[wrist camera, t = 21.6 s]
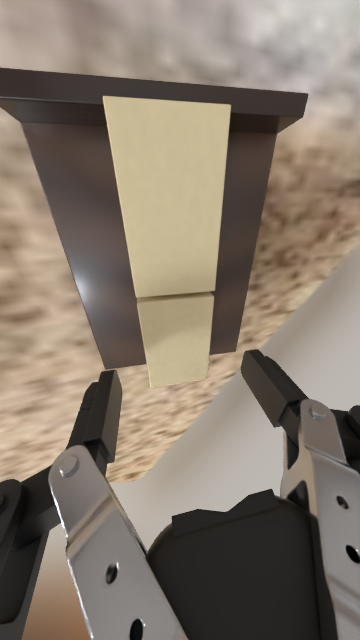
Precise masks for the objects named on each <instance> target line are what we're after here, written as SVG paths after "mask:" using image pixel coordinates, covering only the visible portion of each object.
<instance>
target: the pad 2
mask: <svg viewBox="0 0 360 640" xmlns="http://www.w3.org/2000/svg"><path fill="white" fill-rule="evenodd" d="M213 305H214V296H213V295H212V294H211V293H210V291H207V292H196V293H184V294H173V295H161V296H150V297H138V299H137V308H138V314H139V320H140V326H141V332H142V338H143V344H144V350H145V356H146V362H147V368H148V374H149V380H150V386H151V388H156V387H162V386H169V385H175V384H181V383H187V382H194V381H200V380H206V379H207V374H208V362H209V351H210V340H211V328H212V317H213Z"/></svg>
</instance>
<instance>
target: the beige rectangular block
mask: <svg viewBox="0 0 360 640" xmlns="http://www.w3.org/2000/svg"><path fill="white" fill-rule="evenodd" d="M103 103H104V109H105V115H106V121H107V127H108V133H109V139H110V145H111V151H112V157H113V163H114V169H115V175H116V181H117V187H118V193H119V199H120V205H121V211H122V217H123V223H124V229H125V235H126V241H127V247H128V253H129V259H130V265H131V271H132V277H133V283H134V289H135V295H136V298H138V297H150V296H161V295H173V294H184V293H196V292H207V291H215V283H216V272H217V260H218V249H219V238H220V226H221V215H222V203H223V192H224V181H225V169H226V158H227V146H228V135H229V124H230V112H231V105H229V104H214V103H200V102H186V101H171V100H157V99H143V98H128V97H114V96H103Z"/></svg>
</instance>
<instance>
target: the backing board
mask: <svg viewBox="0 0 360 640" xmlns="http://www.w3.org/2000/svg"><path fill="white" fill-rule="evenodd" d="M103 96H114V97H128V98H143V99H157V100H171V101H186V102H200V103H214V104H229V105H231V112H230V124H229V135H228V146H227V158H226V169H225V181H224V192H223V203H222V215H221V226H220V238H219V249H218V260H217V272H216V283H215V291H210V293H211V294H212V295H213V296H214V305H213V317H212V328H211V340H210V351H209V355H213V354H221V353H228V352H235V351H236V347H237V342H238V336H239V331H240V326H241V320H242V315H243V310H244V305H245V299H246V294H247V289H248V284H249V278H250V273H251V268H252V263H253V257H254V252H255V247H256V241H257V236H258V231H259V226H260V220H261V215H262V210H263V205H264V199H265V194H266V189H267V183H268V178H269V173H270V168H271V162H272V157H273V152H274V147H275V141H276V136H277V133H279V132H281V131H282V130H284V129H285V128H287V127H288V126H290V125H291V124H293V123H294V122H296V121H298V120H299V119H301V118H302V117H303V115H304V111H305V107H306V103H307V98H308V94H307V93H295V92H283V91H271V90H260V89H248V88H236V87H224V86H212V85H200V84H188V83H176V82H164V81H152V80H140V79H128V78H116V77H104V76H93V75H81V74H69V73H57V72H45V71H33V70H21V69H9V68H0V107H1V108H2V109H4V110H5V111H6V112H7V113H9V114H10V115H11V116H13V117H14V118H15V119H17V120H18V121H20V124H21V127H22V130H23V133H24V135H25V138H26V141H27V144H28V147H29V150H30V153H31V156H32V159H33V161H34V164H35V167H36V170H37V173H38V176H39V179H40V182H41V185H42V187H43V190H44V193H45V196H46V199H47V202H48V205H49V208H50V211H51V213H52V216H53V219H54V222H55V225H56V228H57V231H58V234H59V237H60V240H61V242H62V245H63V248H64V251H65V254H66V257H67V260H68V263H69V266H70V268H71V271H72V274H73V277H74V280H75V283H76V286H77V289H78V292H79V294H80V297H81V300H82V303H83V306H84V309H85V312H86V315H87V318H88V320H89V323H90V326H91V329H92V332H93V335H94V338H95V341H96V344H97V346H98V349H99V352H100V355H101V358H102V361H103V364H104V367H105V369H113V368H121V367H128V366H135V365H142V364H147V362H146V356H145V350H144V344H143V338H142V332H141V326H140V320H139V314H138V308H137V299H138V298H136V295H135V289H134V283H133V277H132V271H131V265H130V259H129V253H128V247H127V241H126V235H125V229H124V223H123V217H122V211H121V205H120V199H119V193H118V187H117V181H116V175H115V169H114V163H113V157H112V151H111V145H110V139H109V133H108V127H107V121H106V115H105V109H104V103H103Z"/></svg>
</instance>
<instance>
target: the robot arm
mask: <svg viewBox="0 0 360 640" xmlns="http://www.w3.org/2000/svg"><path fill="white" fill-rule="evenodd" d="M241 373H242V376H243V378H244V379H245V381H246V383H247V384H248V386H249V388H250V389H251V391H252V392H253V394H254V396H255V397H256V399H257V400H258V402H259V404H260V405H261V407H262V409H263V410H264V412H265V414H266V415H267V417H268V418H269V420H270V422H271V423H272V425H273V427H280V426H282V427H283V429H284V430H285V431H284V472H283V478H282V481H281V488H280V497H278V496H275V495H274V493H273V490H272V489H269V490H266V491H262V492H258V493H254V494H251V495H248V496H247V497H246V498H244V499H243V500H242V501H241V502H239V503H238V504H237V505H236V506H234V507H233V508H232V509H231V510H229V511H228V512H219V511H210V510H202V509H196V510H193V511H189V512H185V513H182V514H178V515H175V516H172V523H171V524H169V525H168V526H167V527H166V528H165V529H164V530H163V531H162V532H161V533H160V534H159V535H158V537H157V538H156V539H155V540H154V542H153V544H152V545H151V547H150V549H149V551H147V550H146V548H145V546H144V544H143V542H142V541H141V539H140V537H139V535H138V533H137V532H136V530H135V528H134V526H133V525H132V523H131V522H130V520H129V518H128V516H127V514H126V513H125V511H124V509H123V507H122V506H121V504H120V502H119V500H118V498H117V496H116V495H115V493H114V491H113V489H112V488H111V486H110V484H109V482H108V480H107V478H106V476H105V475H106V468H107V464H108V463H112V462H114V460H115V451H116V443H117V435H118V426H119V418H120V410H121V401H122V387H121V383H120V380H119V377H118V374H117V371H116V370H110V371H103V372H101V374H100V378H99V382H94V383H92V384H91V385H90V386H89V388H88V389H87V390H86V392H85V395H84V398H83V401H82V404H81V407H80V411H79V413H78V416H77V419H76V422H75V425H74V428H73V431H72V434H71V437H70V440H69V443H68V445H67V447H66V449H65V451H64V452H62V453H61V454H60V455H59V456H58V457H57V459H56V460H55V461H54V463H53V464H52V465H51V466H49V467H48V468H46V469H44V470H42V471H41V472H39V473H37V474H35V475H33V476H31V477H30V478H28V479H26V480H24V481H22V482H19V481H18V480H15V479H9V480H6V481H3V482H1V483H0V640H21V639H22V635H23V631H24V627H25V623H26V619H27V616H28V612H29V608H30V604H31V600H32V596H33V592H34V588H35V585H36V581H37V577H38V573H39V569H40V565H41V561H42V558H43V554H44V550H45V546H46V542H47V538H48V535H49V531H50V530H51V529H52V528H54V527H55V526H57V525H58V524H60V523H62V526H63V529H64V532H65V535H66V539H67V546H66V558H67V563H68V566H69V570H70V573H71V576H72V580H73V583H74V586H75V590H76V593H77V596H78V600H79V603H80V606H81V610H82V613H83V616H84V620H85V623H86V626H87V629H88V633H89V636H90V640H360V406H358V405H356V406H353V407H352V408H351V409H350V410H349V412H348V411H341V410H333V409H329V408H328V407H326V406H325V405H324V404H322V403H320V402H318V401H316V400H312V399H309V398H308V397H307V396H306V395H305V394H304V393H303V392H302V391H301V389H299V387H298V386H297V385H296V384H295V383H294V382H293V381H292V380H291V379H290V377H289V376H288V375H286V373H285V372H284V371H283V370H282V369H281V367H280V366H279V365H278V364H277V363H276V362H275V361H274V360H272V359H271V358H269V357H267V356H264V355H263V354H262V353H261V352H260V351H259V350H258V349H255V350H249V351H245V352H244V356H243V361H242V365H241Z"/></svg>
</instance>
